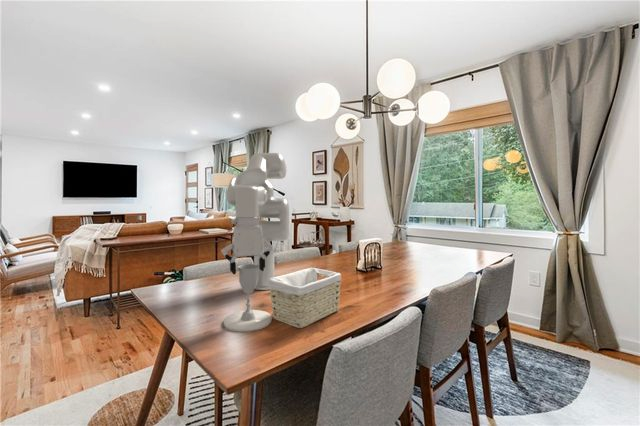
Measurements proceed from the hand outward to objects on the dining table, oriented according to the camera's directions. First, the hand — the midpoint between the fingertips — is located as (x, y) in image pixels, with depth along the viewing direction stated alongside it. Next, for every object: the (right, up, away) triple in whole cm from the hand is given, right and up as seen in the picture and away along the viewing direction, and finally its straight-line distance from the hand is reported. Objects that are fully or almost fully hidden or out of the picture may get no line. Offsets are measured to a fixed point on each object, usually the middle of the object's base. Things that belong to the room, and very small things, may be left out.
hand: (247, 271), depth 106 cm
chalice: (0, -16, +1) cm, 16 cm away
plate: (0, -17, 0) cm, 17 cm away
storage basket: (+20, -18, +7) cm, 27 cm away
